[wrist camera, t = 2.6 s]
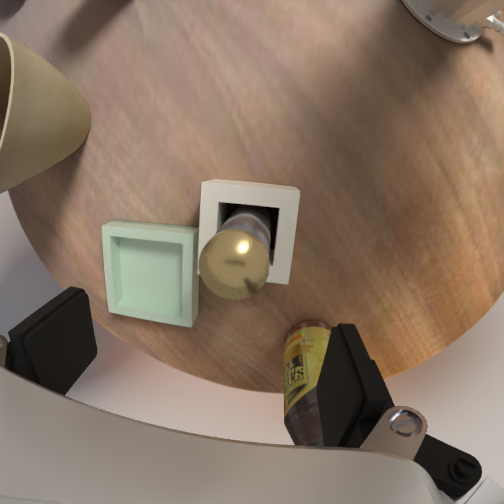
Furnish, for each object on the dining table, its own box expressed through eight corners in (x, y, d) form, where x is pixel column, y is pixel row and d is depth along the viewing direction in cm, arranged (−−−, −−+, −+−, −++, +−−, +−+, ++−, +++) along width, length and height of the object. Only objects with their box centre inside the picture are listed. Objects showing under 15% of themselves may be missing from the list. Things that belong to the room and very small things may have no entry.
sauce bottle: (286, 315, 32) (292, 474, 13) (341, 319, 32) (390, 468, 13) (279, 361, 34) (276, 511, 15) (329, 364, 34) (357, 507, 15)
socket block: (296, 186, 28) (300, 191, 23) (286, 265, 30) (288, 284, 26) (214, 178, 28) (201, 182, 24) (209, 256, 31) (197, 273, 26)
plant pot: (142, 124, 27) (36, 105, 12) (60, 209, 31) (-39, 244, 15) (86, 42, 24) (-4, 3, 9) (17, 126, 28) (-73, 129, 12)
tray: (201, 227, 30) (193, 234, 27) (198, 314, 33) (191, 327, 30) (115, 219, 30) (101, 225, 28) (120, 300, 33) (108, 311, 31)
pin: (273, 204, 29) (273, 236, 16) (269, 244, 30) (265, 303, 18) (232, 200, 29) (199, 229, 17) (228, 240, 30) (197, 295, 18)
